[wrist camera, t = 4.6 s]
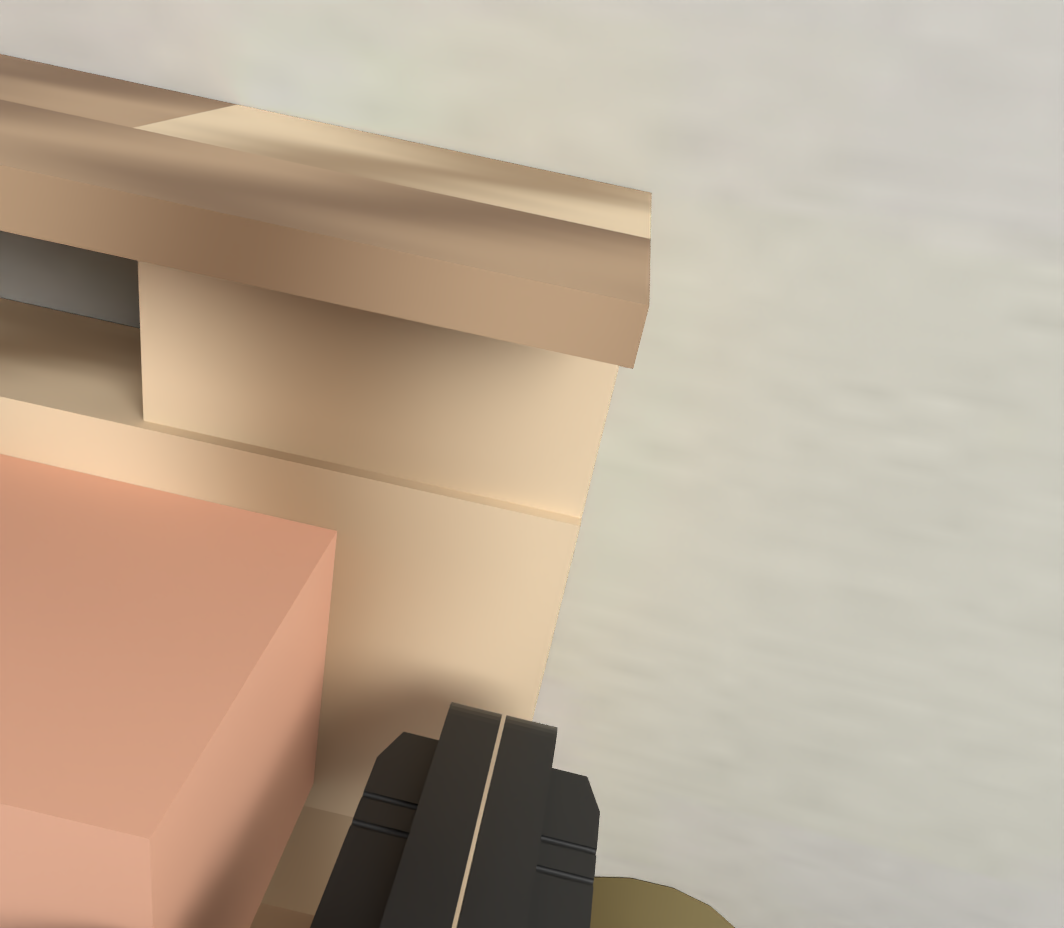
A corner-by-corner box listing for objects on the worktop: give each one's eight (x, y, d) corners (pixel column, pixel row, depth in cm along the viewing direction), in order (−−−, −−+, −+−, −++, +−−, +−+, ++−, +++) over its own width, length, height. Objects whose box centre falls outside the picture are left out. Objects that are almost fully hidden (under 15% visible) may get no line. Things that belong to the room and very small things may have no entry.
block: (337, 530, 12) (150, 838, 7) (313, 783, 14) (160, 1130, 10) (-16, 450, 12) (-407, 705, 8) (19, 714, 14) (-264, 1026, 10)
